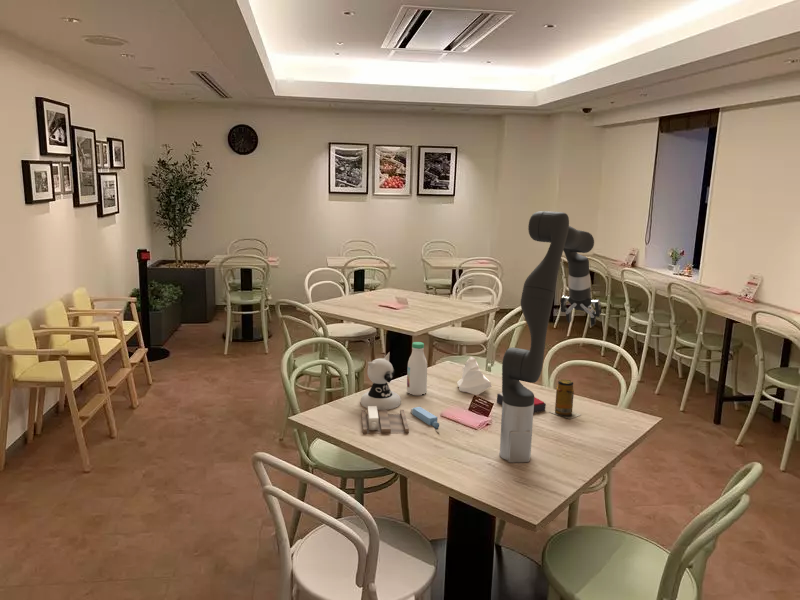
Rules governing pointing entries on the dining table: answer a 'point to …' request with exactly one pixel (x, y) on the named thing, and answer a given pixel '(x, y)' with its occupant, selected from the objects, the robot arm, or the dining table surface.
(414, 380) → the milk bottle
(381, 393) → the decorative figurine
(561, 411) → the condiment
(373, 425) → the white rectangular block
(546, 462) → the dining table surface
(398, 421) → the cord comb
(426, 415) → the light blue bar
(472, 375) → the soft serve ice cream
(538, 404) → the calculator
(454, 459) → the dining table surface
